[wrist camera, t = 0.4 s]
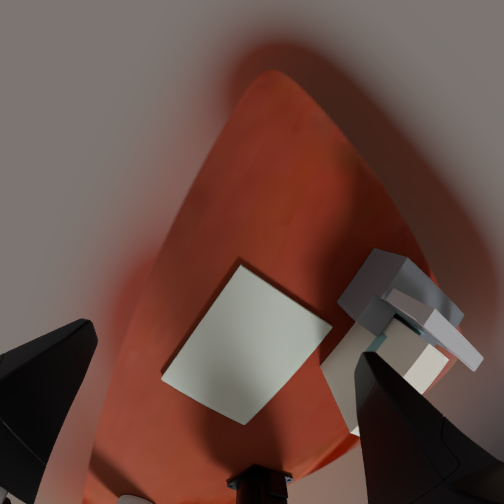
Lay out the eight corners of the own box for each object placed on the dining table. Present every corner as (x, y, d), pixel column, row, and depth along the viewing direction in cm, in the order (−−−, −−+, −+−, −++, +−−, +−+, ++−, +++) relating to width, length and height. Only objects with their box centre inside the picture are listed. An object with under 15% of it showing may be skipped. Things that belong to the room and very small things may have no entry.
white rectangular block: (341, 378, 25) (376, 442, 15) (319, 365, 25) (349, 432, 15) (391, 316, 25) (449, 360, 15) (370, 300, 24) (428, 343, 14)
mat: (244, 421, 26) (244, 425, 25) (162, 376, 25) (160, 379, 24) (330, 325, 25) (332, 327, 24) (240, 264, 24) (240, 265, 23)
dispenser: (396, 345, 25) (456, 401, 14) (336, 302, 24) (391, 358, 13) (429, 297, 24) (501, 334, 13) (373, 248, 24) (451, 270, 13)
